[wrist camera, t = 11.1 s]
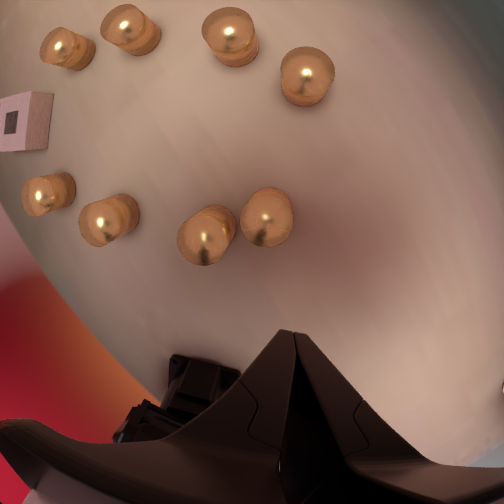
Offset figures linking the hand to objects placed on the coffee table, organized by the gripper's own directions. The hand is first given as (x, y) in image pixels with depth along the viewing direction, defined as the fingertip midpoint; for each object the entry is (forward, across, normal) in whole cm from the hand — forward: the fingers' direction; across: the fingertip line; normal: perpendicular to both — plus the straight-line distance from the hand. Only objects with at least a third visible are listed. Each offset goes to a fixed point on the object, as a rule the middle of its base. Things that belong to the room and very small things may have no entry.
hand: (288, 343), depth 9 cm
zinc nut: (+13, +24, -6) cm, 28 cm away
